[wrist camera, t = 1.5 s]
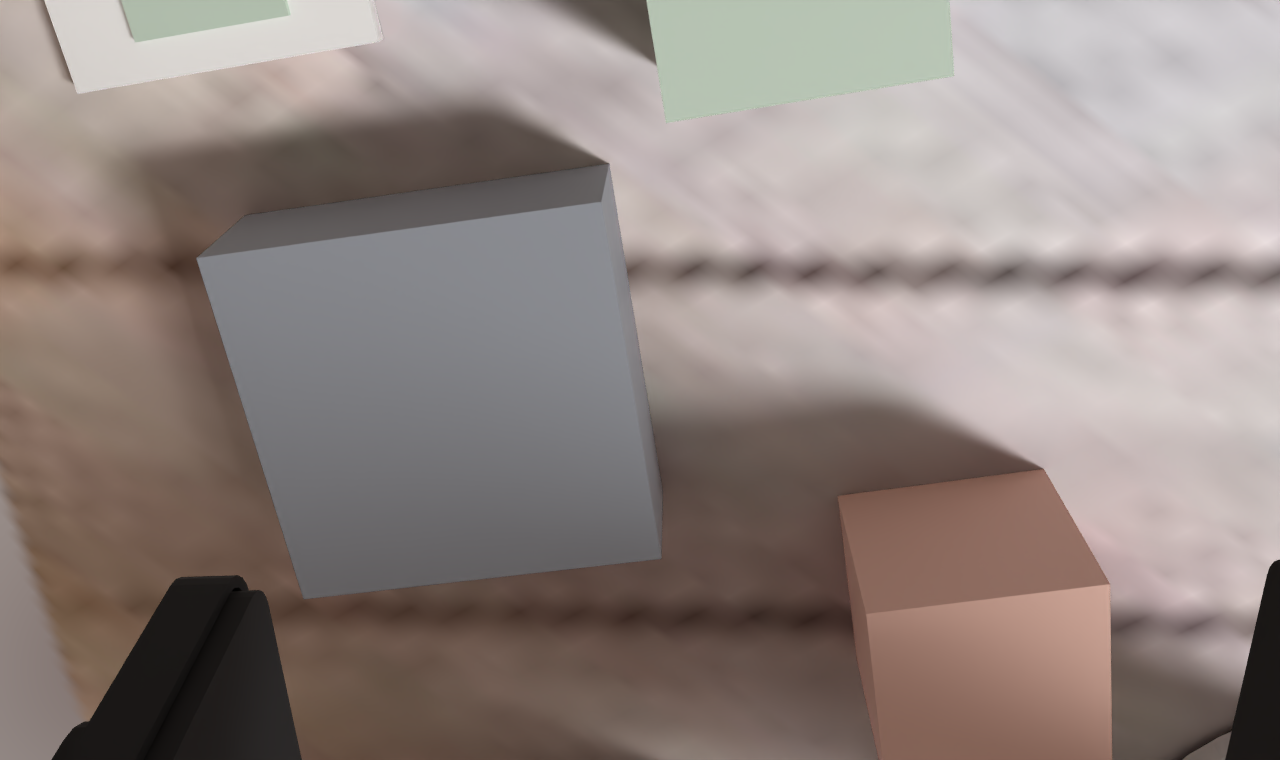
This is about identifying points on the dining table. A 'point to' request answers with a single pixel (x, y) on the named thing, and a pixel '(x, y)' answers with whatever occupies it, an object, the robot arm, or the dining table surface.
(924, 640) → the brick cube
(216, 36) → the card
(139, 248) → the dining table surface
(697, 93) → the sage cube
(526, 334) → the slate base block
